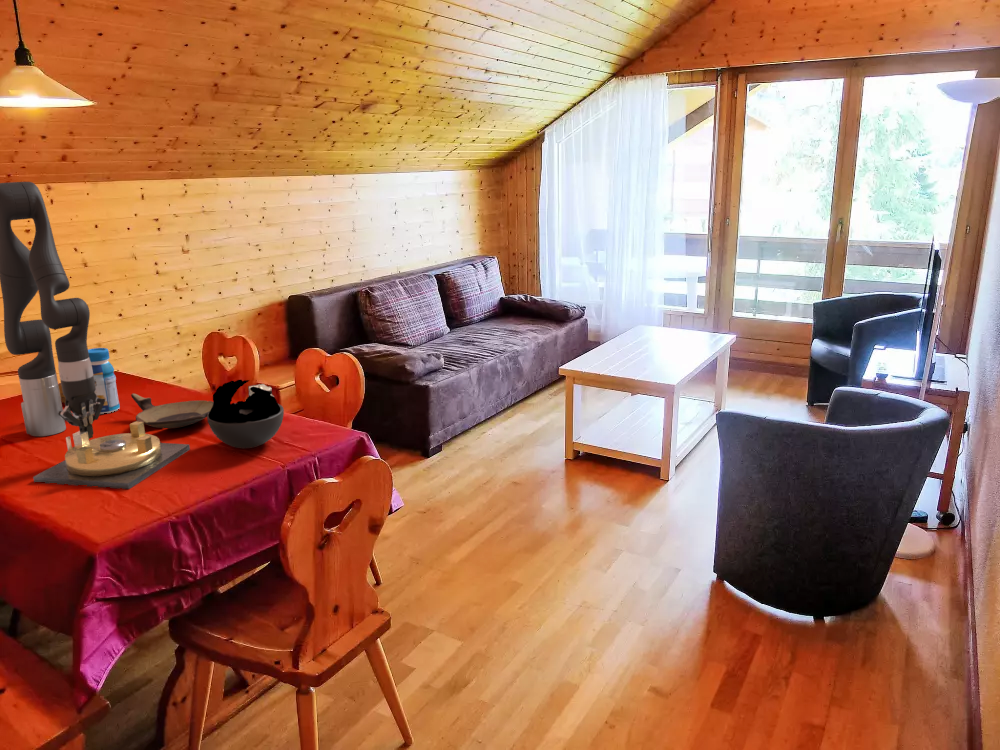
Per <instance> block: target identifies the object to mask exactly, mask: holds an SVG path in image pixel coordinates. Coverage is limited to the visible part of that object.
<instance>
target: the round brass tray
mask: <svg viewBox="0 0 1000 750" xmlns="http://www.w3.org/2000/svg"><path fill="white" fill-rule="evenodd" d="M129 429H130V433H129V432H128V433H116V434H111V435H103V436H100V437H96V438H91V439H89V438H88V432H87V431H85V432H81V431H80V430H78V431H76V432H75V433H72V439H73V443H74V446H72V448H71V449H70V450H68V449H67V451H66V453H65V455H64V460H66V466H67V469H68V471H70V472H71V473H74V474H77V475H84V476H101V475H110V474H117V473H122V472H126V471H130V470H134V469H137V468H140V467H143V466H145V465H147V464H149V463H151V462H153V461H155V460H156V459H157V458H158V457H159V456H160V455H161V446H160V443H161V441H160V438H159V437H158V436H156V435H152V434H149V433H146V431H145V424H144V423H143V422H138V421H137V420H136V421H133V422H132V423H130V424H129Z"/></svg>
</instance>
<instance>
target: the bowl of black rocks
mask: <svg viewBox="0 0 1000 750" xmlns="http://www.w3.org/2000/svg"><path fill="white" fill-rule="evenodd" d="M249 381H250V379H247V380H246V379H244V380H242V379H236V380H230V381H228V382H224V383H223V384H222V385H219V386H218V387H217V389H216V390H215V391H214V393H213V394H212V402H214V403H213V406H212V408H211V410H210V412H209V414H208V415H207V417H206V419H207V423H208V426H209V428H210V430H211V432H212V433H213V434H214V435H215V436H216V438H218V440H219V441H221V442H222V443H224V444H226V445H228V446H230V447H232V448H236V449H252V448H257V447H259V446H261V445H264V444H265V443H267V442H269V441H270V440H271V439H272V438H273V437H274V436H275V435H276V434H277V433H278V431H279V430H280V428H281V426H282V423H283V419H284V414H285V410H284V406H283V405H281V404H279V403H278V400H277V398H274V397H275V396H274V395H273V396H274V397H273V396H271V393H270V392H269V391H267V390H263V389H261V388H257V387H251V388H250V389H251V391H252V392H254V393H253V394H252V395H251V396H249V395H248V396H247V397H246V398H245V400H244V401H243V400H238V401H237V402H232V399H233V397H234V396H235V395H236V393H237V392H238V390H239V389H240V388H241V387H244V385H245V384H246V383H249ZM231 402H232V403H231Z"/></svg>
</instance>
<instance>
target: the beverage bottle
mask: <svg viewBox="0 0 1000 750" xmlns="http://www.w3.org/2000/svg"><path fill="white" fill-rule="evenodd" d="M88 353H89V358H90V362H91V365H92V370H93V376H94V381H95V387H96V390H95V393H96V395H97V397H98V398H102V399H105V403H104V405H103V408H102V410H101V412H100V415H105V414H104V413H107V414H112V413H115V412H117V411H119V410H120V407H121V406H120V401H119V395H118V389H117V383H116V382H117V381H116V380H117V377H116V375H115V372H114V371H115V367H114V366H113V365H112V364H111V362H110V361H109V360H110V351H109V348H107V347H106V348H105V347H93V348H90V349H89V348H88ZM118 409H119V410H118ZM114 411H115V412H114ZM95 412H96V411H95ZM111 412H112V413H111Z"/></svg>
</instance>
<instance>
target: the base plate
mask: <svg viewBox="0 0 1000 750" xmlns="http://www.w3.org/2000/svg"><path fill="white" fill-rule="evenodd" d="M65 441H66V447H67V451H68V450H70V449H71V448H73V446H72V440H71V436H66V437H65ZM160 446H161V455H160V456H159V457H158V458H157V459H156V460H155V461H153V462H151V463H149V464H147V465H145V466H143V467H140V468H137V469H134V470H130V471H126V472H122V473H117V474H110V475H101V476H84V475H77V474H74V473H71V472H70V471H68V469H67V466H66V460H65V459H64V460H63V461H61V462H58V463H57V464H55V465H53V466H51V467H49V468H47V469H45V470H43V471H42V472H39V473H38V474H36V475H34V476H33V477H32V479H33V482H34V483H35V482H45V483H44V484H50V483H57V484H56V485H64V484H68V486H78V485H87V486H86V487H92V486H98V487H97V488H106V487H110V488H111V489H120V488H122V489H123V490H130V489H131V488H133V487H135V486H136V485H138V484H139V483H141V482H143V481H144V480H145V479H147V478H149V477H150V476H151V475H153V474H154V473H156V472H158V471H160V470H161V469H162V468H164V467H166V466H167V465H168V464H170V463H172V462H173V461H175V460H176V459H178V458H180V457H181V456H182V455H184V454H185V453H187V452H188V451H190V450H191V446H190V444H186V443H170V442H160Z"/></svg>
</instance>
